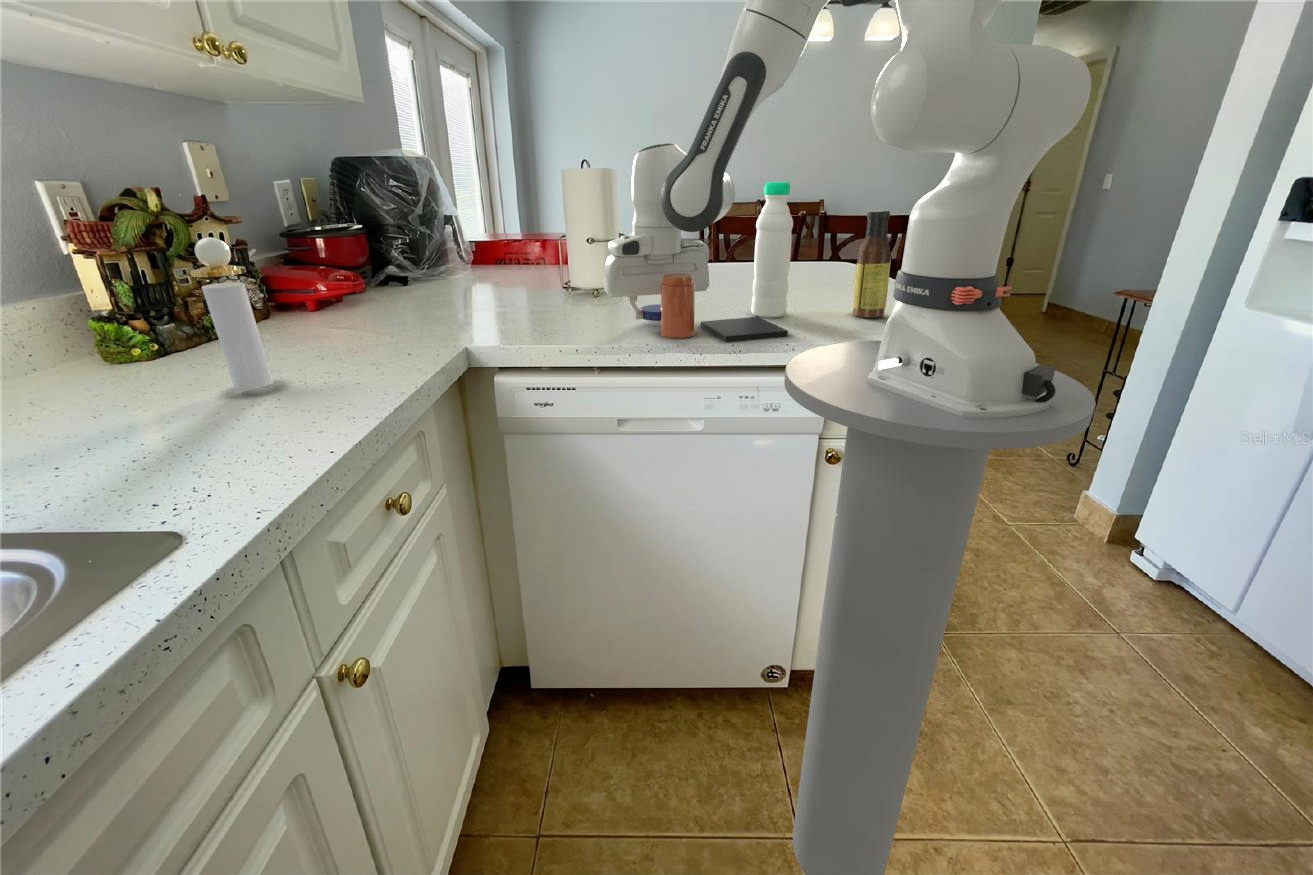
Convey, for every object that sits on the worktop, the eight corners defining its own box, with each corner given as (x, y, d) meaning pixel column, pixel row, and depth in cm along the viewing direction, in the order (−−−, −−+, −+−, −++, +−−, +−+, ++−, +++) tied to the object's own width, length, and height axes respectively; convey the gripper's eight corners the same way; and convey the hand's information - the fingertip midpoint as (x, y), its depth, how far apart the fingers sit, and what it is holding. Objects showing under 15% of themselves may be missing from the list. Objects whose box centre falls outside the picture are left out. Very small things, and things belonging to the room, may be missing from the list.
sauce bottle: (890, 316, 117) (907, 210, 109) (870, 320, 114) (886, 211, 106) (863, 310, 122) (877, 209, 114) (843, 314, 119) (856, 210, 110)
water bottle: (782, 319, 116) (793, 182, 106) (747, 316, 118) (755, 182, 108) (788, 312, 122) (799, 181, 112) (754, 309, 124) (762, 181, 114)
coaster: (787, 336, 104) (788, 330, 103) (725, 342, 100) (726, 336, 100) (757, 321, 114) (757, 316, 114) (700, 326, 111) (700, 321, 111)
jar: (699, 336, 104) (700, 277, 100) (667, 339, 102) (667, 279, 98) (687, 329, 109) (688, 272, 105) (657, 331, 108) (656, 274, 103)
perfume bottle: (288, 386, 81) (245, 236, 73) (244, 399, 77) (193, 240, 69) (266, 380, 84) (221, 234, 76) (222, 392, 80) (170, 238, 71)
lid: (656, 311, 117) (656, 302, 117) (681, 316, 113) (681, 307, 112) (634, 317, 113) (633, 308, 112) (658, 322, 109) (658, 313, 108)
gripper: (703, 238, 113) (701, 310, 119) (599, 243, 107) (603, 317, 113) (715, 241, 107) (713, 316, 113) (607, 246, 102) (610, 325, 108)
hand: (657, 317), depth 113 cm, fingers closed on lid, 6 cm apart
